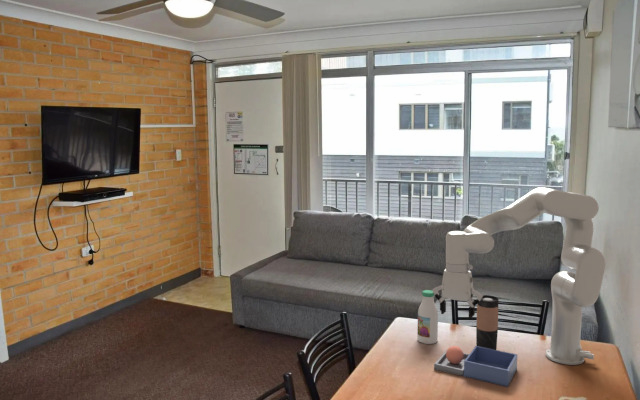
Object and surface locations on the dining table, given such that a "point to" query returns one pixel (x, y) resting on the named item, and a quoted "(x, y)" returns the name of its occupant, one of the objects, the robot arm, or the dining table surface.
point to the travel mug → (487, 322)
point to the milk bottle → (427, 319)
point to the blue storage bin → (490, 366)
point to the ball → (454, 355)
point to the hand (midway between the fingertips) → (457, 315)
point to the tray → (450, 365)
